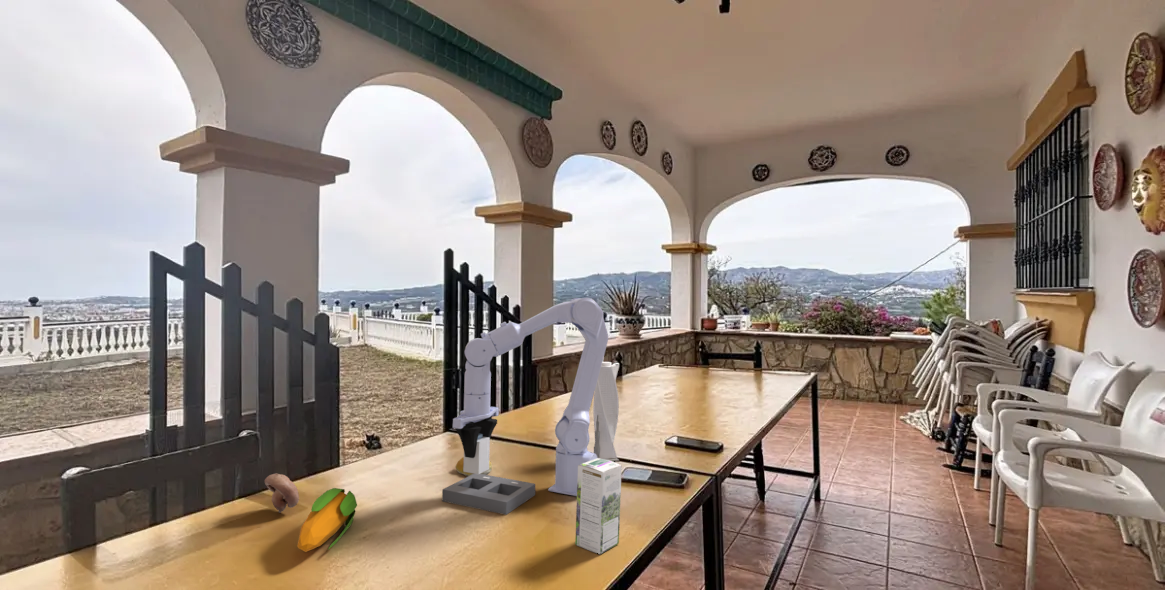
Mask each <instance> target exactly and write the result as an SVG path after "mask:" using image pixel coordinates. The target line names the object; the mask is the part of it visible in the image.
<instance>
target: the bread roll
mask: <svg viewBox="0 0 1165 590" xmlns="http://www.w3.org/2000/svg"><path fill="white" fill-rule="evenodd" d="M463 467H464V456H463V457H461V458H460V459H459V460H458V461H457V463H456V465H455V469H456V471H457V473H459V474H461V475H464V476H465V477H468V476H470V475H472V474H474V473H468V472H463ZM492 468H493V464H492V462H491V461H490V460H489V469H488V470H486V471H484V472H482V473H480V474H484V475H489V473H491V472H492Z"/></svg>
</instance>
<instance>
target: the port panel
mask: <svg viewBox="0 0 1165 590" xmlns="http://www.w3.org/2000/svg"><path fill="white" fill-rule="evenodd" d="M441 492H442V495H441V497H442V499H441V501H442V502H445V503H449V504H454V505H459V506H462V507H463V506H464V507H469V508H473V509H478V510H483V511H486V512H492V513H496V514H501V515H505V516H506V515H508V514H509V513H511V512H512V511H514V510H515V509H517V508H518V507H520V506H522V505H523V504H524V503H526V502H527V501H528V500H530V499H531V498H533V497H534V496H536V483H535V482H534V483H533V482H528V481H522V480H515V479H511V478H506V477H500V476H494V475H489V474H486V475H484V474H472V475H470V476H465V477H464V478H462V479H460V480H459V481H457V482H454V483H452V484H450V485H449V486H446V487H445V488H442V491H441Z"/></svg>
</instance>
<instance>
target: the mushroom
mask: <svg viewBox="0 0 1165 590" xmlns="http://www.w3.org/2000/svg"><path fill="white" fill-rule="evenodd" d="M264 484H265V486H266V487H267V489H268V490H269V491H270V492H272V497H271V503H272V504H273V507H274V508H275V509H276V510H277V511H278V513H282V512H283V511H284V510H286V508H290V509H292V508H294V507H296V506H297V505H298V503H299V501H300V495H299V491H298V490H299V489H298V487H297V486H296V484H295V483H294V482H293V481H292V480H290V478H289V477H288V475H287V476H286V475H285V474H282V473H281V474H280V473H273V474H269V475H268V476H267V477H266V478H265V479H264Z"/></svg>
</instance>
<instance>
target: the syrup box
mask: <svg viewBox="0 0 1165 590" xmlns="http://www.w3.org/2000/svg"><path fill="white" fill-rule="evenodd" d="M621 490H622V465H621V463H620V464H619V463H617V462H612V461H609V460H606V459H600V458H597V459H594V460H591V461H588V462H586V463H583V464H580V465H578V479H577V496H576V509H575V510H576V512H575V515H576V516H575V517H576V518H575V519H576V521H575V539H574V540H575V542H574V544H575V545H576V547H580V548H583V549H584V550H587V551H590V552H591V553H595V554H597V553H598V555H602V554H603V553H605V552H607V551H609V550H610V549H612V548H614V547H616V546H618V545H619V544H620V525H621V524H620V522H621V521H620V519H621V518H620V517H621V498H622V497H621V495H622V494H621V493H622V491H621Z"/></svg>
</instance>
